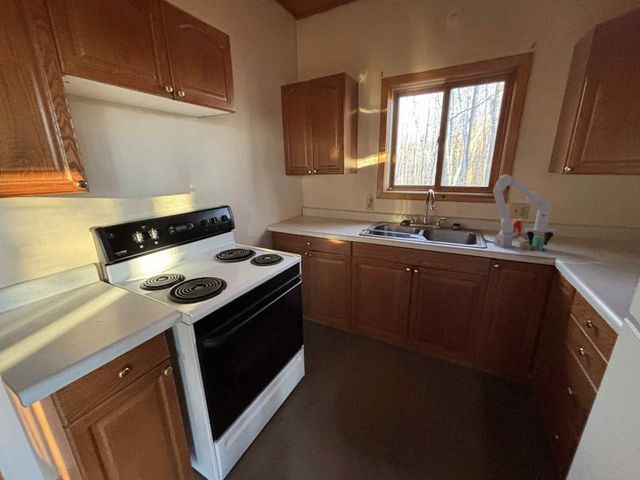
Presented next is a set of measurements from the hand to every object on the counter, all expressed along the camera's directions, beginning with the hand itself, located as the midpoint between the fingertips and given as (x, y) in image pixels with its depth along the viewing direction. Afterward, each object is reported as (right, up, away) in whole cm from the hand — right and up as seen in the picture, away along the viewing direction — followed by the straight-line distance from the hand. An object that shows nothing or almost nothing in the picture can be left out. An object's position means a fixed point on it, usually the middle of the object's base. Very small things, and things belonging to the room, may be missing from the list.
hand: (537, 244), depth 161 cm
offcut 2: (-7, -3, 0) cm, 7 cm away
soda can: (+10, +5, +32) cm, 34 cm away
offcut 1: (-5, -1, +5) cm, 7 cm away
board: (0, -2, +1) cm, 2 cm away
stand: (+4, 0, +14) cm, 14 cm away
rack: (-2, -3, +2) cm, 4 cm away
